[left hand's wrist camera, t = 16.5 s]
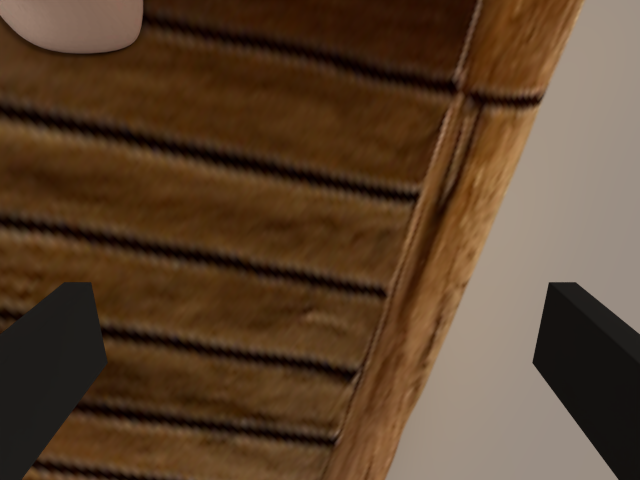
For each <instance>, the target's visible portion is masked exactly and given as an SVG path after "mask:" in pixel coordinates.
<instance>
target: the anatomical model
mask: <svg viewBox="0 0 640 480" xmlns="http://www.w3.org/2000/svg"><path fill="white" fill-rule="evenodd" d="M0 16H1V17H2V18H3V19H4V20H5V21H6V22H7V23H8V24H9V25H10V27H11V28H12V29H13V30H14V31H16V32H17V33H18V34H19V35H20V36H22V37H23V38H24V39H26V40H27V41H29V42H31V43H33V44H35V45H37V46H39V47H42V48H45V49H48V50H52V51H58V52H63V53H76V54H81V53H101V52H109V51H114V50H119V49H122V48H125V47H127V46H129V45H131V44H132V43H133V42H134V41H135V40H136V39H137V37H138V35H139V33H140V29H141V25H142V16H143V0H0Z"/></svg>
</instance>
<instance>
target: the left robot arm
mask: <svg viewBox="0 0 640 480" xmlns="http://www.w3.org/2000/svg"><path fill="white" fill-rule="evenodd" d="M106 364H107V358H106V353H105V348H104V343H103V338H102V333H101V328H100V324H99V319H98V314H97V309H96V304H95V299H94V294H93V290H92V285H91V282H64V283H63V284H62V285H60V286H59V287H58V288H57V289H56V290H54V291H53V292H52V293H51V294H49V295H48V296H47V297H46V298H44V299H43V300H42V301H41V302H40V303H38V304H37V305H36V306H35V307H33V308H32V309H31V310H30V311H28V312H27V313H26V314H25V315H24V316H22V317H21V318H20V319H19V320H17V321H16V322H15V323H14V324H12V325H11V326H10V327H9V328H8V329H6V330H5V331H4V332H3V333H1V334H0V480H22V478H23V477H24V475H25V474H26V473H27V471H28V470H29V469H30V467H31V466H32V465H33V463H34V462H35V461H36V459H37V458H38V456H39V455H40V454H41V452H42V451H43V450H44V448H45V447H46V446H47V444H48V443H49V442H50V440H51V439H52V437H53V436H54V435H55V433H56V432H57V431H58V429H59V428H60V427H61V425H62V424H63V423H64V421H65V420H66V418H67V417H68V416H69V414H70V413H71V412H72V410H73V409H74V408H75V406H76V405H77V404H78V402H79V401H80V400H81V398H82V397H83V395H84V394H85V393H86V391H87V390H88V389H89V387H90V386H91V385H92V383H93V382H94V381H95V379H96V378H97V376H98V375H99V374H100V372H101V371H102V370H103V368H104V367H105V366H106ZM533 364H534V366H535V367H536V368H537V370H538V371H539V372H540V374H541V375H542V376H543V378H544V379H545V381H546V382H547V383H548V385H549V386H550V387H551V389H552V390H553V391H554V393H555V394H556V395H557V397H558V398H559V400H560V401H561V402H562V403H563V405H564V406H565V408H566V409H567V410H568V412H569V413H570V414H571V416H572V417H573V418H574V420H575V421H576V423H577V424H578V425H579V427H580V428H581V429H582V431H583V432H584V433H585V435H586V436H587V437H588V439H589V440H590V442H591V443H592V444H593V446H594V447H595V448H596V450H597V451H598V452H599V454H600V455H601V456H602V458H603V459H604V460H605V462H606V463H607V465H608V466H609V467H610V469H611V470H612V471H613V473H614V474H615V475H616V477H617V478H618V480H640V334H639V333H637V332H636V331H635V330H634V329H632V328H631V327H630V326H629V325H628V324H626V323H625V322H624V321H623V320H621V319H620V318H619V317H618V316H616V315H615V314H614V313H613V312H612V311H610V310H609V309H608V308H607V307H605V306H604V305H603V304H602V303H600V302H599V301H598V300H597V299H596V298H594V297H593V296H592V295H591V294H589V293H588V292H587V291H586V290H584V289H583V288H582V287H581V286H579V285H578V284H577V283H576V282H549V285H548V290H547V294H546V299H545V304H544V309H543V314H542V319H541V324H540V328H539V333H538V338H537V343H536V348H535V353H534V358H533Z"/></svg>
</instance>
